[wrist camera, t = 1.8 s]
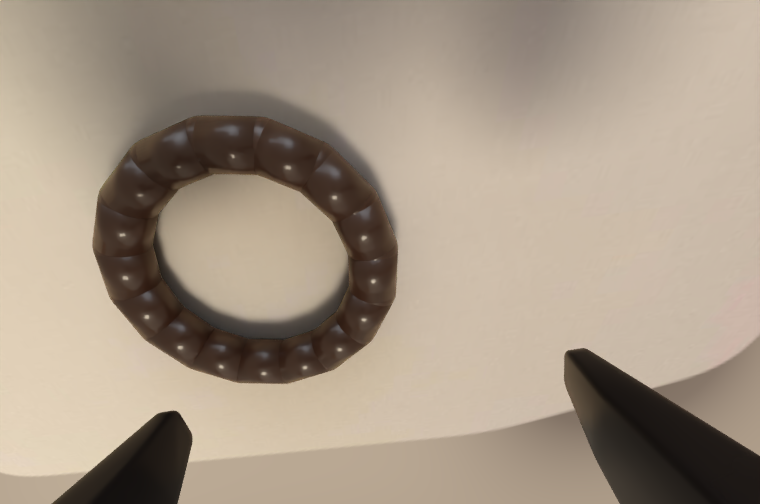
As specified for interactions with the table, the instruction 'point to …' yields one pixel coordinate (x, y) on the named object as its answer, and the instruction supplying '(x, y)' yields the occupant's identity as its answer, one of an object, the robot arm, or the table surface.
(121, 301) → the ring
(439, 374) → the table surface
